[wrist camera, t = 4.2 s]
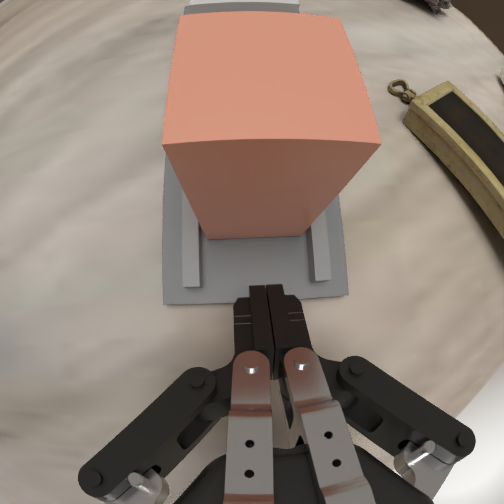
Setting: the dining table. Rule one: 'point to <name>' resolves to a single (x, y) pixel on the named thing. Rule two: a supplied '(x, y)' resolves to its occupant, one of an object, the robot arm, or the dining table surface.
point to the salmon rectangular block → (265, 120)
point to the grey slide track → (246, 249)
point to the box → (460, 142)
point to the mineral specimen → (438, 5)
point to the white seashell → (502, 75)
